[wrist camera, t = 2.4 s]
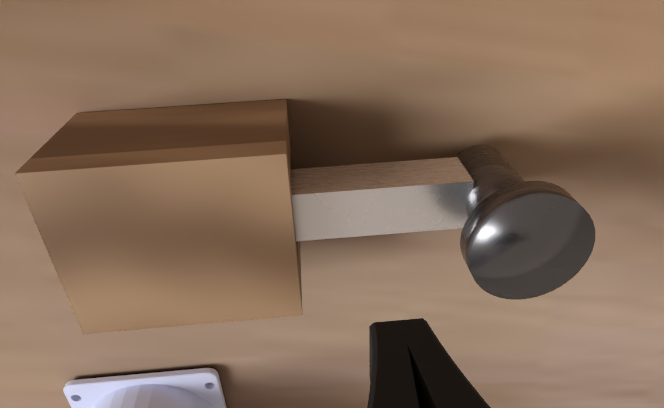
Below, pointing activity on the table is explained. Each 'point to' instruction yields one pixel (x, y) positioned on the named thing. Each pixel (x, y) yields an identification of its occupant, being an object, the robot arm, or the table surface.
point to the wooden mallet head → (170, 215)
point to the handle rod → (455, 215)
